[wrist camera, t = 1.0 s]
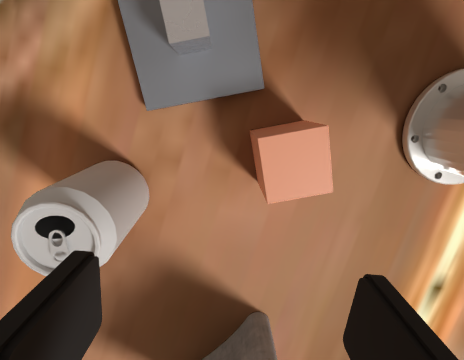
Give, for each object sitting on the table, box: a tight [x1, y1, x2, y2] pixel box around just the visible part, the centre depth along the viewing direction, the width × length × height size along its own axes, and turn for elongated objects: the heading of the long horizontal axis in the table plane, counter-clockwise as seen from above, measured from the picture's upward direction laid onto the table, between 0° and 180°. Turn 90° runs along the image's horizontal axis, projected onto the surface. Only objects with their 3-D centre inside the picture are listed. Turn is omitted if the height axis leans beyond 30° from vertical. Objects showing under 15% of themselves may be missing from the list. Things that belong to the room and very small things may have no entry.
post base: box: [118, 0, 264, 111], centre depth 23 cm, size 12×12×6 cm
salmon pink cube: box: [250, 120, 333, 204], centre depth 26 cm, size 6×6×7 cm
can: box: [11, 161, 149, 276], centre depth 24 cm, size 8×8×12 cm
